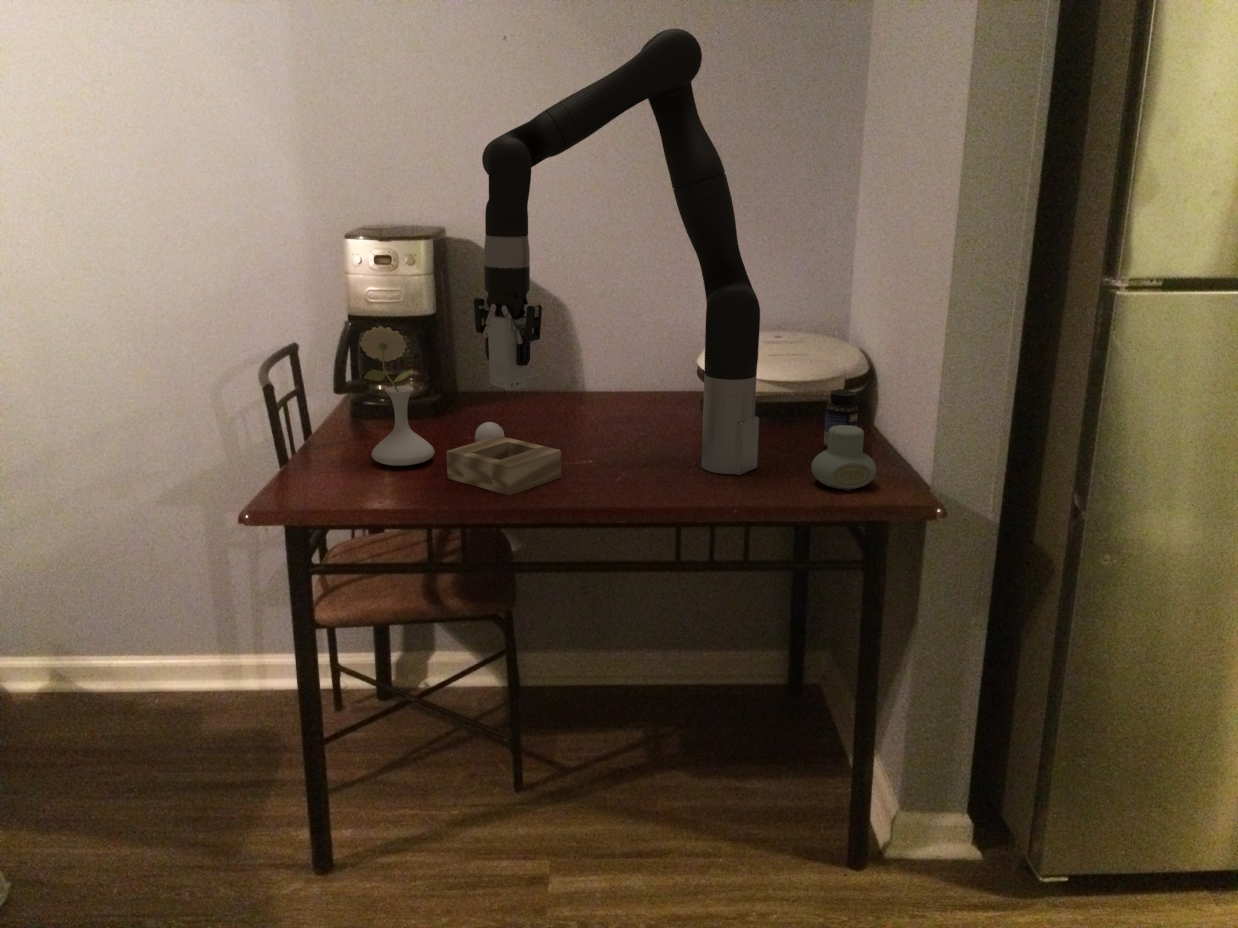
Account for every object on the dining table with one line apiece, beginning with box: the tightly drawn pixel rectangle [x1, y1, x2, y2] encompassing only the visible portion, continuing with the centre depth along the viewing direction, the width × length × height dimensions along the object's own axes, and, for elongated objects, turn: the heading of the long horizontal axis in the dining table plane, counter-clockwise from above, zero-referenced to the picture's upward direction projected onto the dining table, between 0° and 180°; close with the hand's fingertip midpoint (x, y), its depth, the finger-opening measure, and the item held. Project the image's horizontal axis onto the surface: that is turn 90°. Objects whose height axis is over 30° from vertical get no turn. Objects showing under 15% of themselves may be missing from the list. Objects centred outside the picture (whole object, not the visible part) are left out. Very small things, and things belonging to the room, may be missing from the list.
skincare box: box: [487, 316, 529, 391], centre depth 173 cm, size 6×4×12 cm
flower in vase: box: [359, 326, 436, 467], centre depth 184 cm, size 13×11×25 cm
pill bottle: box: [823, 389, 859, 449], centre depth 197 cm, size 6×6×11 cm
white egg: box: [466, 421, 505, 443], centre depth 195 cm, size 8×6×6 cm
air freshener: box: [810, 425, 877, 491], centre depth 175 cm, size 11×8×10 cm
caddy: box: [446, 436, 562, 496], centre depth 178 cm, size 15×13×5 cm
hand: (507, 362), depth 174 cm, fingers closed on skincare box, 6 cm apart
